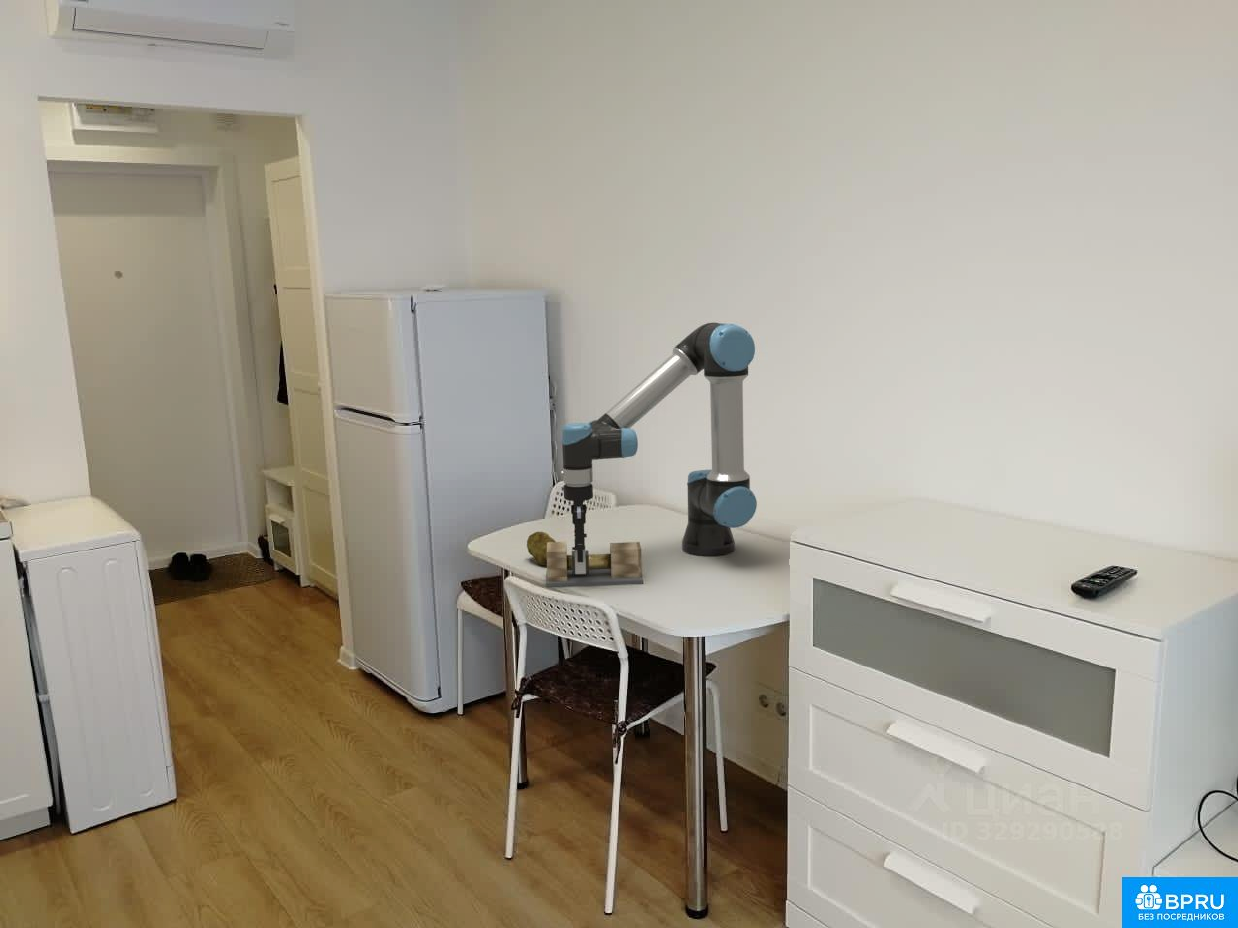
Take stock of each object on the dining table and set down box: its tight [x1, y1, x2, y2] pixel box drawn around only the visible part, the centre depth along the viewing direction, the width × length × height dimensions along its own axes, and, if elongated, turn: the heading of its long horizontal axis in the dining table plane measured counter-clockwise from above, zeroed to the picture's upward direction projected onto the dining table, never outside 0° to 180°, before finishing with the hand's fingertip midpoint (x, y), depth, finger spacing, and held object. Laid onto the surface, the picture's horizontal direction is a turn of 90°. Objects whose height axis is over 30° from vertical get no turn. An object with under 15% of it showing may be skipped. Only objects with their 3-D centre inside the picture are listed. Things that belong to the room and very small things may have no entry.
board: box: [545, 569, 644, 588], centre depth 255 cm, size 25×12×1 cm, turn 93°
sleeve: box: [609, 541, 643, 578], centre depth 255 cm, size 8×7×8 cm
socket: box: [546, 541, 568, 582], centre depth 254 cm, size 5×9×8 cm, turn 3°
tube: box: [566, 549, 611, 574], centre depth 255 cm, size 17×4×5 cm, turn 93°
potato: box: [526, 531, 557, 567], centre depth 270 cm, size 8×13×8 cm, turn 16°
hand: (580, 567), depth 255 cm, fingers open, 9 cm apart
